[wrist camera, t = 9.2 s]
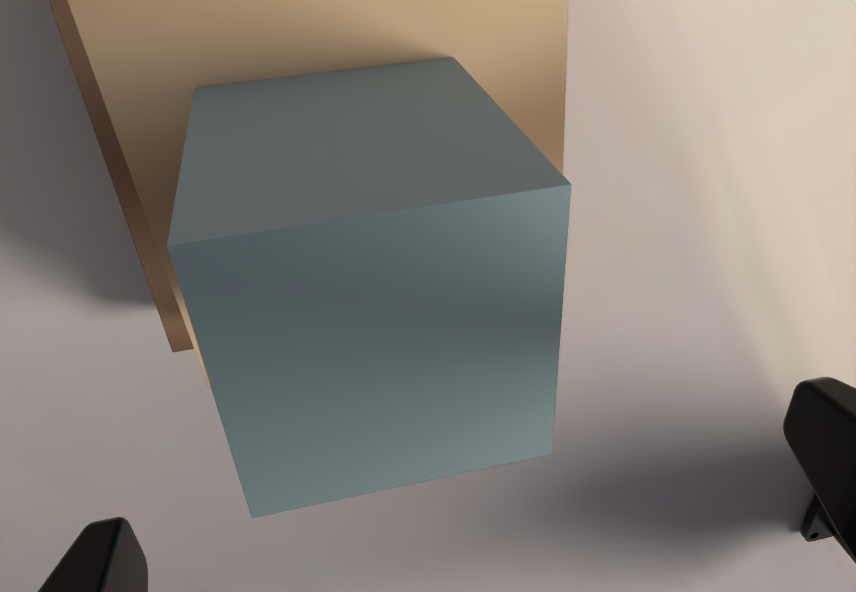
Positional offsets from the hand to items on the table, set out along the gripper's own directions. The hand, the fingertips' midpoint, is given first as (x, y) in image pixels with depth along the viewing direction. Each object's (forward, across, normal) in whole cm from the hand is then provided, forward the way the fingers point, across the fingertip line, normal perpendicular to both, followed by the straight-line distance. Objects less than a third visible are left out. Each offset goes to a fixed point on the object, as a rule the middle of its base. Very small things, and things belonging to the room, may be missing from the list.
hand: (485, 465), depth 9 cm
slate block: (+8, +1, -1) cm, 8 cm away
